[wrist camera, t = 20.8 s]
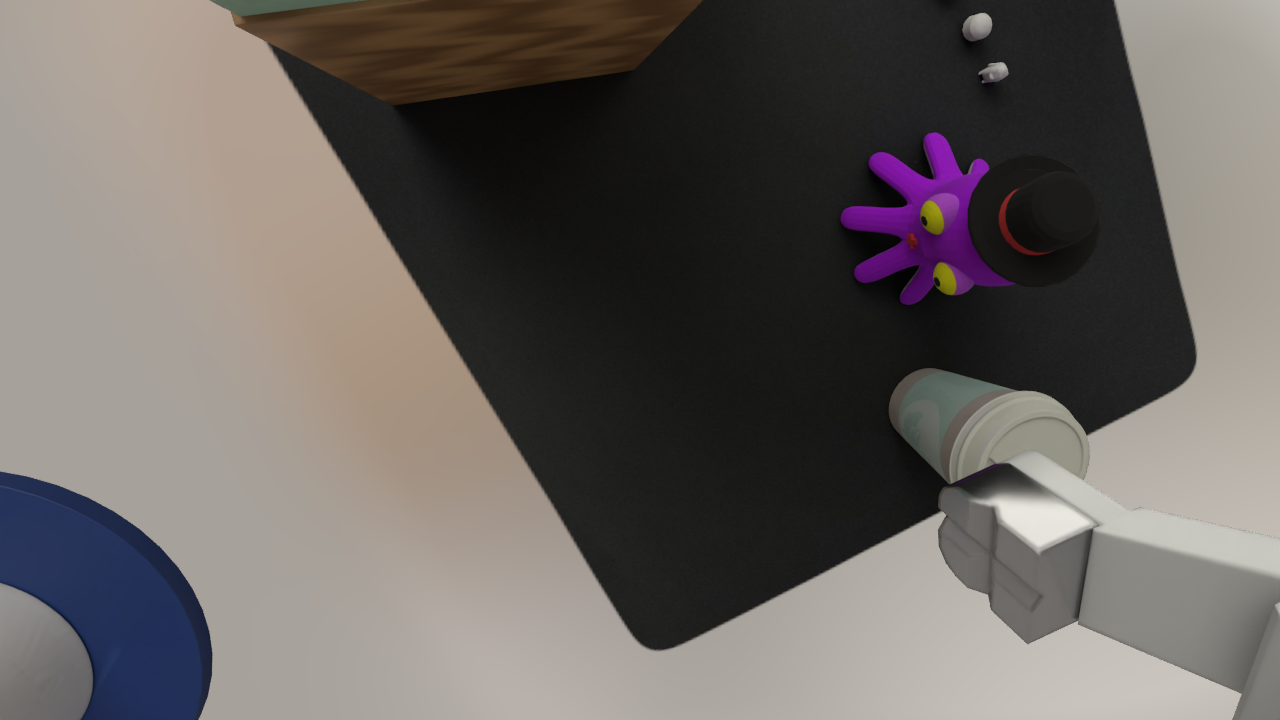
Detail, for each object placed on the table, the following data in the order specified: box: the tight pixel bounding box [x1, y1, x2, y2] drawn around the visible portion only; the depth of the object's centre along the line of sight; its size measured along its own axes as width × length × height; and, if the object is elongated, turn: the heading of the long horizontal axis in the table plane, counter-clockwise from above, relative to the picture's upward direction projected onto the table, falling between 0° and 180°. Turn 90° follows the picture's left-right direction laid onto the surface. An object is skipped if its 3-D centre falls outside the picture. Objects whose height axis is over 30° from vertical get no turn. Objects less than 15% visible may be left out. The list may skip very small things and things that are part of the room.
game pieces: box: [962, 13, 1008, 83], centre depth 44 cm, size 8×2×2 cm, turn 31°
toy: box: [840, 133, 1100, 305], centre depth 41 cm, size 11×11×15 cm
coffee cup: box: [889, 368, 1090, 484], centre depth 46 cm, size 8×8×12 cm
